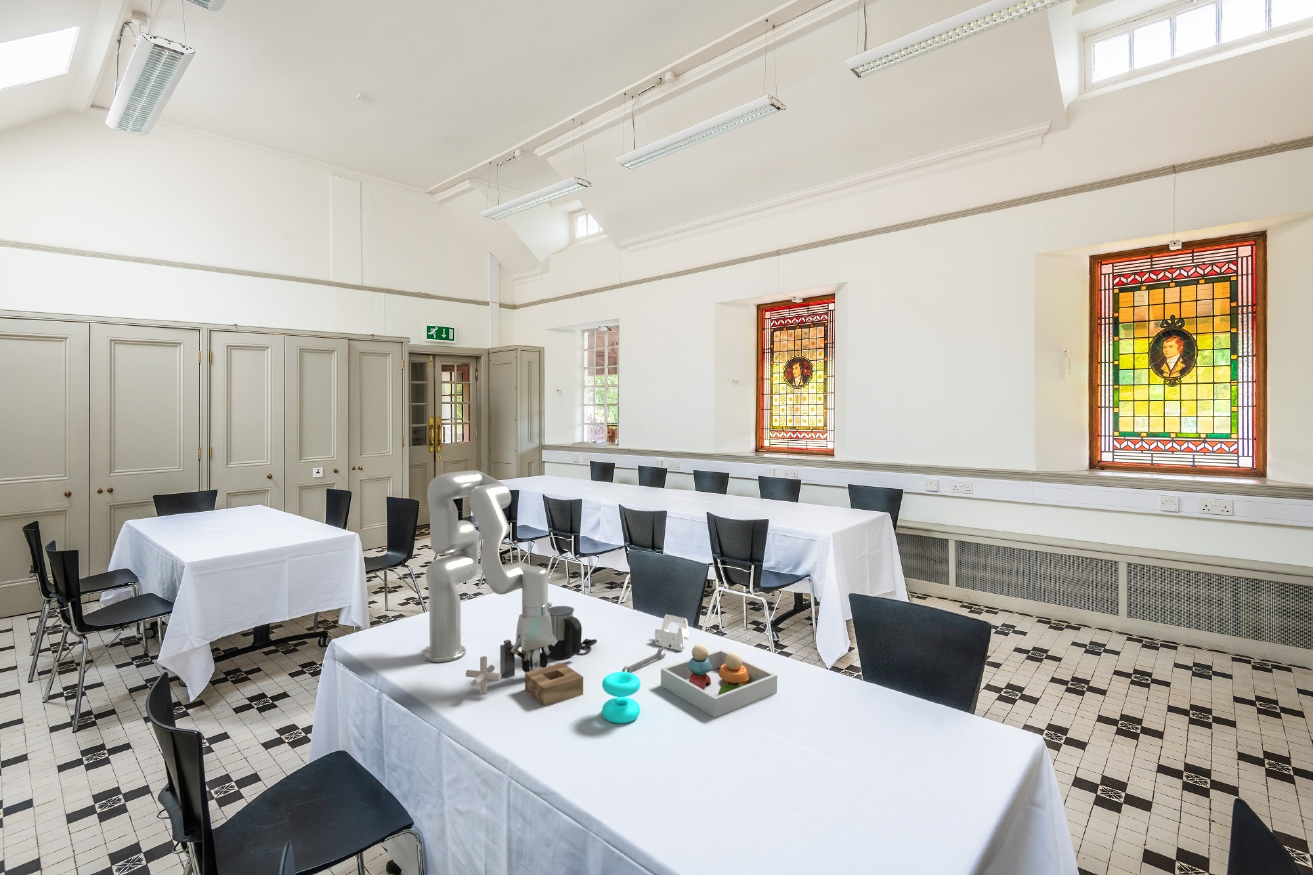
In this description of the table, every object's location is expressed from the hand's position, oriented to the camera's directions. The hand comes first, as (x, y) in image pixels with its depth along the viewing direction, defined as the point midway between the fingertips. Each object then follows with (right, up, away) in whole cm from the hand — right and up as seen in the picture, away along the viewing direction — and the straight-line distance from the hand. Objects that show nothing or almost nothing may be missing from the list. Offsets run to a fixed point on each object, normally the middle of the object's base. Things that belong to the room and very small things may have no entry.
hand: (534, 669), depth 180 cm
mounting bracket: (+42, -2, +27) cm, 50 cm away
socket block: (+7, -3, -9) cm, 12 cm away
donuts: (+27, -4, -22) cm, 35 cm away
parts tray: (+54, -3, -6) cm, 55 cm away
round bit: (0, -2, 0) cm, 2 cm away
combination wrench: (+33, -3, +8) cm, 34 cm away
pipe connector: (-12, -3, -10) cm, 16 cm away
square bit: (-8, -2, +1) cm, 9 cm away
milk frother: (+8, -2, +19) cm, 21 cm away
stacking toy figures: (+55, -4, -5) cm, 55 cm away
